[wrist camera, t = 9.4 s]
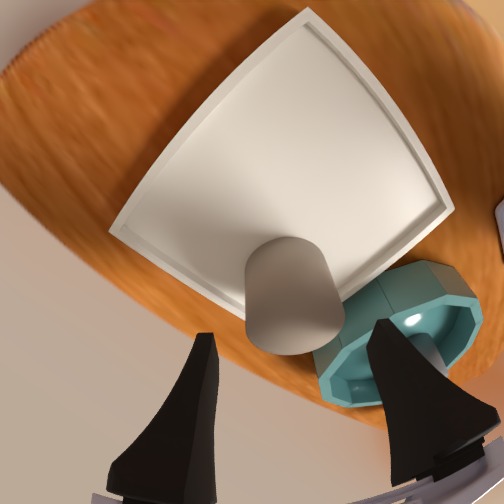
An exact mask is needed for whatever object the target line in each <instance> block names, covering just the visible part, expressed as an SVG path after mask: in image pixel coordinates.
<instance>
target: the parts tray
mask: <svg viewBox="0 0 504 504" xmlns="http://www.w3.org/2000/svg"><path fill="white" fill-rule="evenodd" d="M454 210H455V207H454V205H453V203H452V200H451V198H450V196H449V194H448V192H447V190H446V188H445V186H444V184H443V182H442V180H441V178H440V176H439V174H438V172H437V170H436V168H435V166H434V164H433V163H432V161H431V159H430V157H429V155H428V154H427V152H426V150H425V148H424V147H423V145H422V143H421V142H420V140H419V138H418V137H417V135H416V133H415V132H414V130H413V129H412V127H411V126H410V124H409V123H408V121H407V119H406V118H405V117H404V115H403V114H402V112H401V111H400V109H399V108H398V106H397V105H396V104H395V102H394V101H393V99H392V98H391V97H390V95H389V94H388V93H387V91H386V90H385V89H384V87H383V86H382V85H381V83H380V82H379V81H378V80H377V78H376V77H375V76H374V75H373V73H372V72H371V71H370V70H369V69H368V67H367V66H366V65H365V64H364V63H363V62H362V60H361V59H360V58H359V57H358V56H357V55H356V54H355V52H354V51H353V50H352V49H351V48H350V47H349V46H348V45H347V44H346V43H345V42H344V41H343V40H342V39H341V38H340V37H339V36H338V34H337V33H336V32H335V31H334V30H332V29H331V28H330V27H329V26H328V25H327V24H326V23H325V22H324V21H323V20H322V19H321V18H320V17H319V16H318V15H317V14H316V13H314V12H313V11H312V10H311V9H310V8H309V7H307V8H305V9H304V10H303V11H301V12H300V13H299V14H297V15H296V16H295V17H294V18H292V19H291V20H290V21H289V22H287V23H286V24H285V25H284V26H282V27H281V28H280V29H279V30H278V31H276V32H275V33H274V34H273V35H272V36H271V37H269V38H268V39H267V40H266V41H265V42H264V43H263V44H262V45H260V46H259V47H258V48H257V49H256V50H255V51H254V52H253V53H252V54H251V55H250V56H248V57H247V58H246V59H245V60H244V61H243V62H242V63H241V64H240V65H239V66H238V67H237V68H236V69H235V70H234V71H233V72H232V73H231V74H230V75H229V76H228V77H227V78H226V79H225V80H224V81H223V82H222V83H221V84H220V85H219V86H218V87H217V88H216V90H215V91H214V92H213V93H212V94H211V95H210V96H209V97H208V98H207V99H206V100H205V101H204V103H203V104H202V105H201V106H200V107H199V108H198V109H197V110H196V112H195V113H194V114H193V115H192V116H191V117H190V119H189V120H188V121H187V122H186V123H185V124H184V126H183V127H182V128H181V129H180V130H179V132H178V133H177V134H176V135H175V137H174V138H173V139H172V140H171V142H170V143H169V144H168V145H167V147H166V148H165V149H164V151H163V152H162V153H161V154H160V156H159V157H158V158H157V160H156V161H155V162H154V164H153V165H152V166H151V168H150V169H149V171H148V172H147V173H146V175H145V176H144V177H143V179H142V180H141V182H140V183H139V185H138V186H137V187H136V189H135V190H134V192H133V193H132V195H131V196H130V198H129V199H128V201H127V202H126V204H125V205H124V207H123V208H122V210H121V211H120V213H119V215H118V216H117V218H116V219H115V221H114V223H113V224H112V226H111V227H110V229H109V231H108V232H109V233H111V234H112V235H114V236H115V237H116V238H118V239H119V240H121V241H122V242H123V243H125V244H126V245H128V246H129V247H131V248H132V249H133V250H135V251H136V252H138V253H139V254H141V255H142V256H144V257H145V258H146V259H148V260H149V261H151V262H152V263H154V264H155V265H157V266H158V267H160V268H161V269H163V270H164V271H166V272H167V273H169V274H170V275H172V276H173V277H175V278H177V279H178V280H180V281H181V282H183V283H184V284H186V285H187V286H189V287H191V288H192V289H194V290H195V291H197V292H198V293H200V294H202V295H203V296H205V297H206V298H208V299H210V300H211V301H213V302H215V303H216V304H218V305H219V306H221V307H223V308H224V309H226V310H228V311H229V312H231V313H233V314H234V315H236V316H238V317H239V318H241V319H243V320H245V266H246V263H247V260H248V258H249V257H250V255H251V254H252V253H253V252H254V251H255V250H256V249H257V248H258V247H259V246H261V245H262V244H264V243H266V242H268V241H270V240H273V239H276V238H281V237H298V238H302V239H305V240H308V241H310V242H312V243H314V244H315V245H316V246H317V247H318V248H319V249H320V250H321V251H322V253H323V255H324V257H325V260H326V262H327V265H328V267H329V270H330V272H331V275H332V278H333V280H334V283H335V285H336V288H337V291H338V294H339V296H340V299H341V302H343V301H345V300H346V299H348V298H349V297H350V296H352V295H353V294H354V293H356V292H357V291H358V290H360V289H361V288H362V287H364V286H365V285H366V284H368V283H369V282H370V281H372V280H373V279H374V278H375V277H377V276H378V275H379V274H381V273H382V272H383V271H384V270H386V269H387V268H388V267H389V266H391V265H392V264H393V263H394V262H396V261H397V260H398V259H399V258H401V257H402V256H403V255H404V254H405V253H407V252H408V251H409V250H410V249H411V248H413V247H414V246H415V245H416V244H417V243H418V242H420V241H421V240H422V239H423V238H424V237H425V236H426V235H428V234H429V233H430V232H431V231H432V230H433V229H434V228H435V227H437V226H438V225H439V224H440V223H441V222H442V221H443V220H444V219H445V218H446V217H447V216H448V215H450V214H451V213H452V212H453V211H454Z"/></svg>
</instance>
